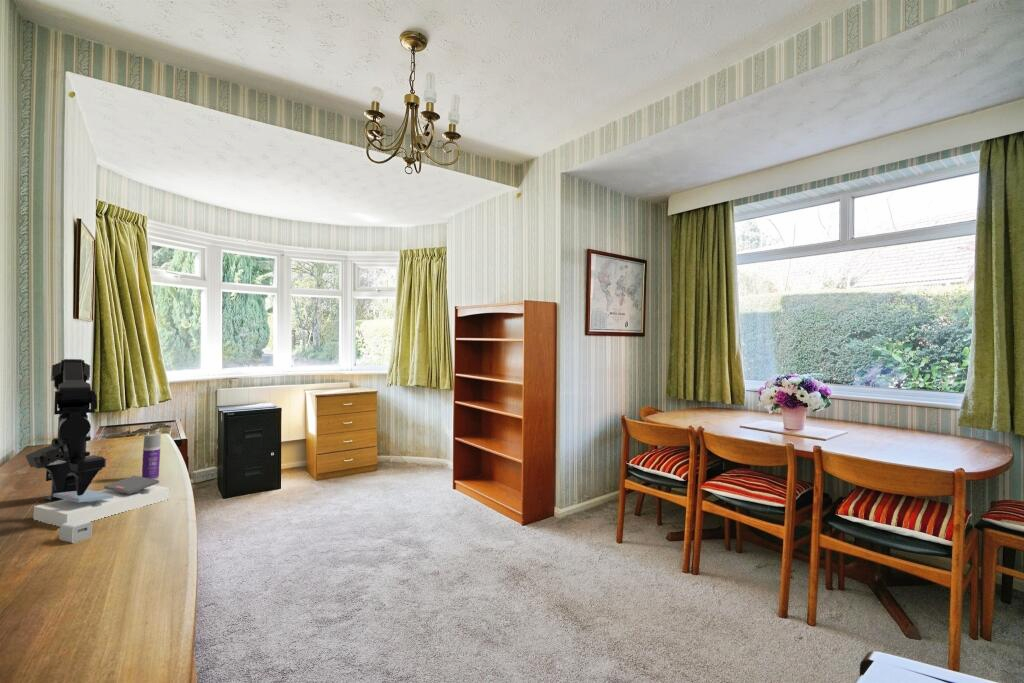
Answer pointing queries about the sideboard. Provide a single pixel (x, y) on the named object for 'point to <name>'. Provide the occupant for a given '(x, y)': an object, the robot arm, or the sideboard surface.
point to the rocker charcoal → (131, 484)
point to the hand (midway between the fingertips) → (69, 492)
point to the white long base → (98, 506)
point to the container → (151, 456)
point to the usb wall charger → (75, 531)
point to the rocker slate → (83, 496)
